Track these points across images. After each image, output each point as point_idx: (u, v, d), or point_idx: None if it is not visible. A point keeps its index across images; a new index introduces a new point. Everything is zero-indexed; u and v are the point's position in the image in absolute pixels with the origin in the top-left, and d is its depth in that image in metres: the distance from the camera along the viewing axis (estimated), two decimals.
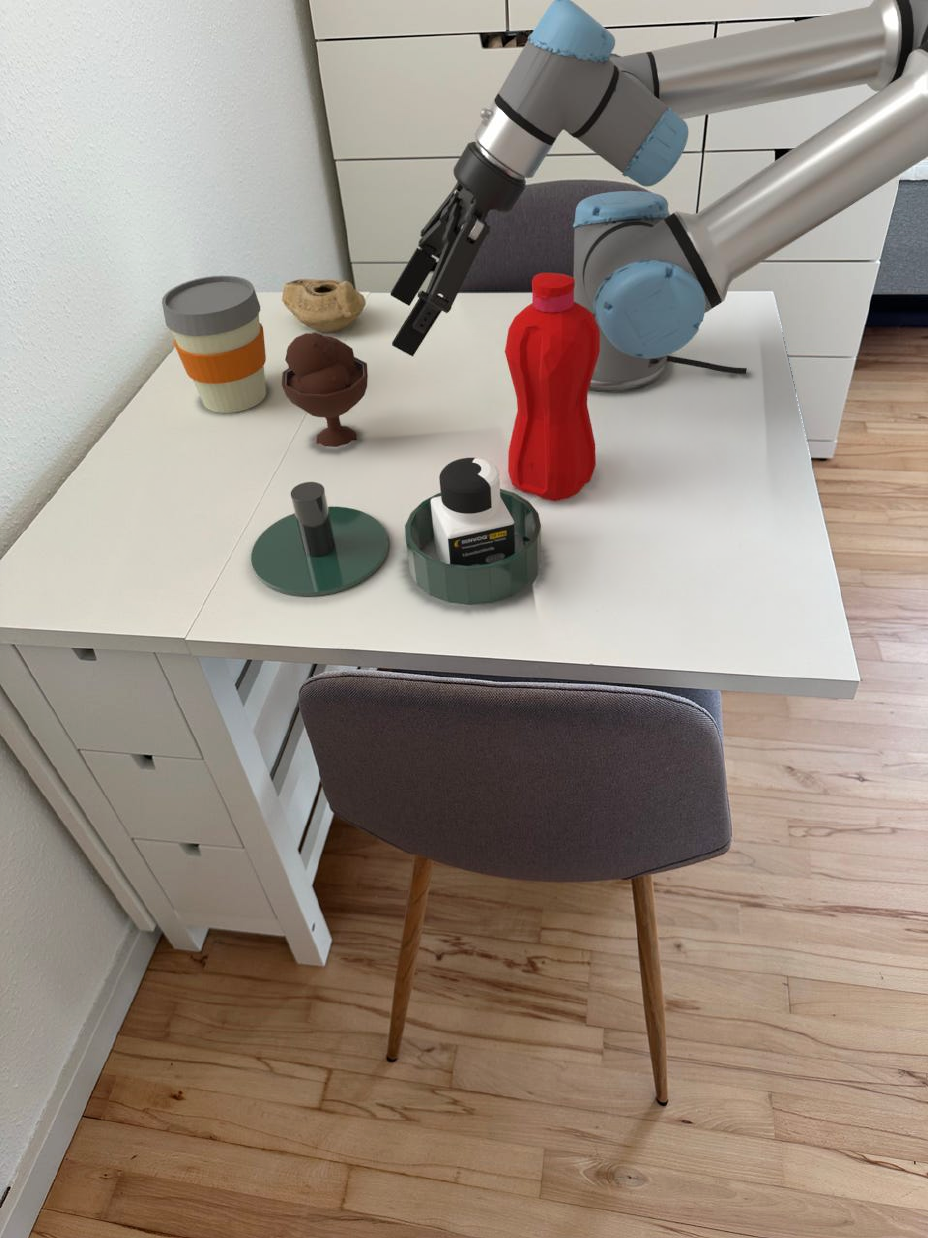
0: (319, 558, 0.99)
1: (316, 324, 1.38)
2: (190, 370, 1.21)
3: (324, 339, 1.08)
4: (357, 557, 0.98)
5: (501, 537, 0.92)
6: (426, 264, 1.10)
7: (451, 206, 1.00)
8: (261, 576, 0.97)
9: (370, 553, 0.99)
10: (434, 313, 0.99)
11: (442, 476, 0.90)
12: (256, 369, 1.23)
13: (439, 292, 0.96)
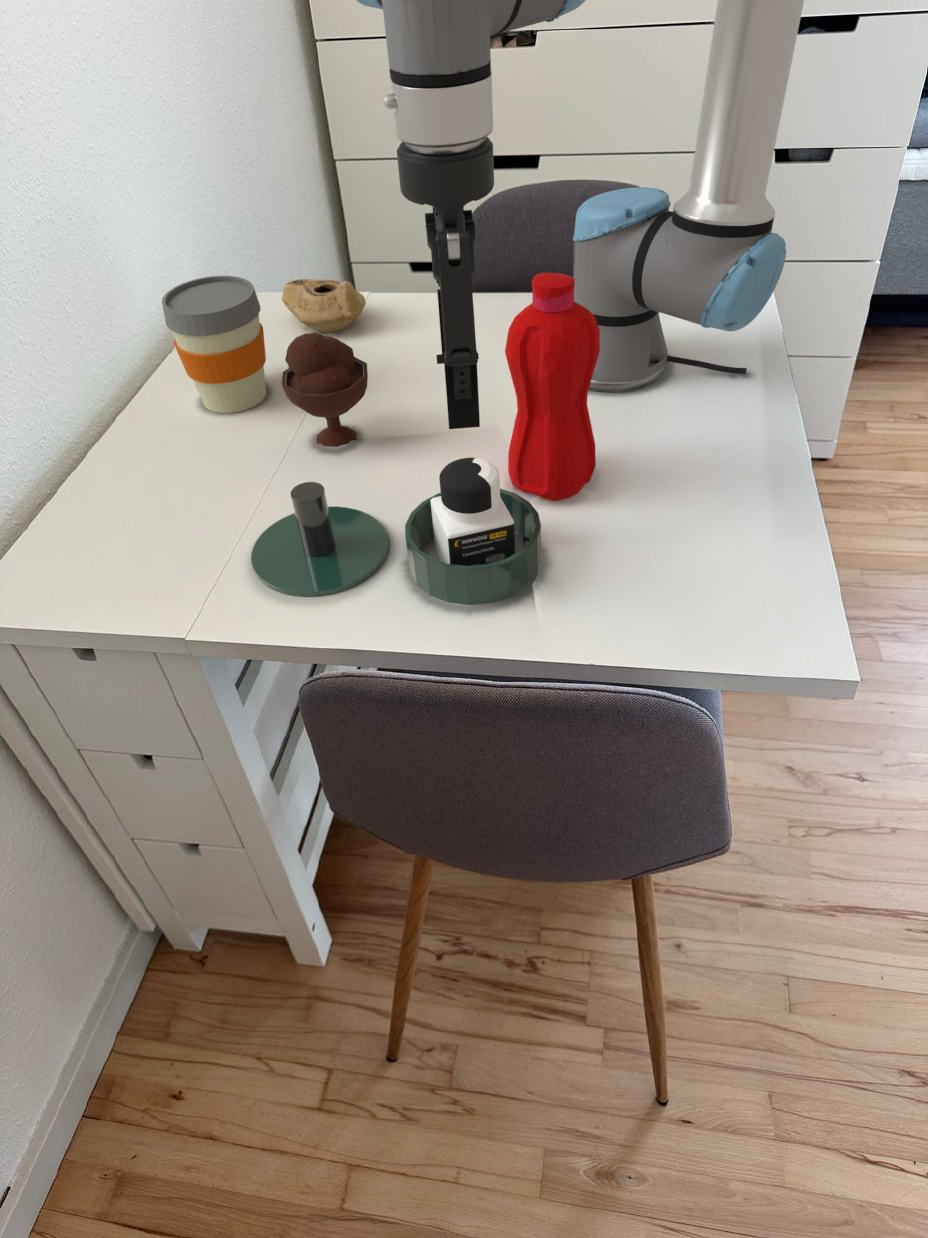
0: (319, 558, 0.99)
1: (316, 324, 1.38)
2: (190, 370, 1.21)
3: (324, 339, 1.08)
4: (357, 557, 0.98)
5: (501, 537, 0.92)
6: None
7: None
8: (261, 576, 0.97)
9: (370, 553, 0.99)
10: (467, 370, 0.74)
11: (442, 476, 0.90)
12: (256, 369, 1.23)
13: (452, 347, 0.71)
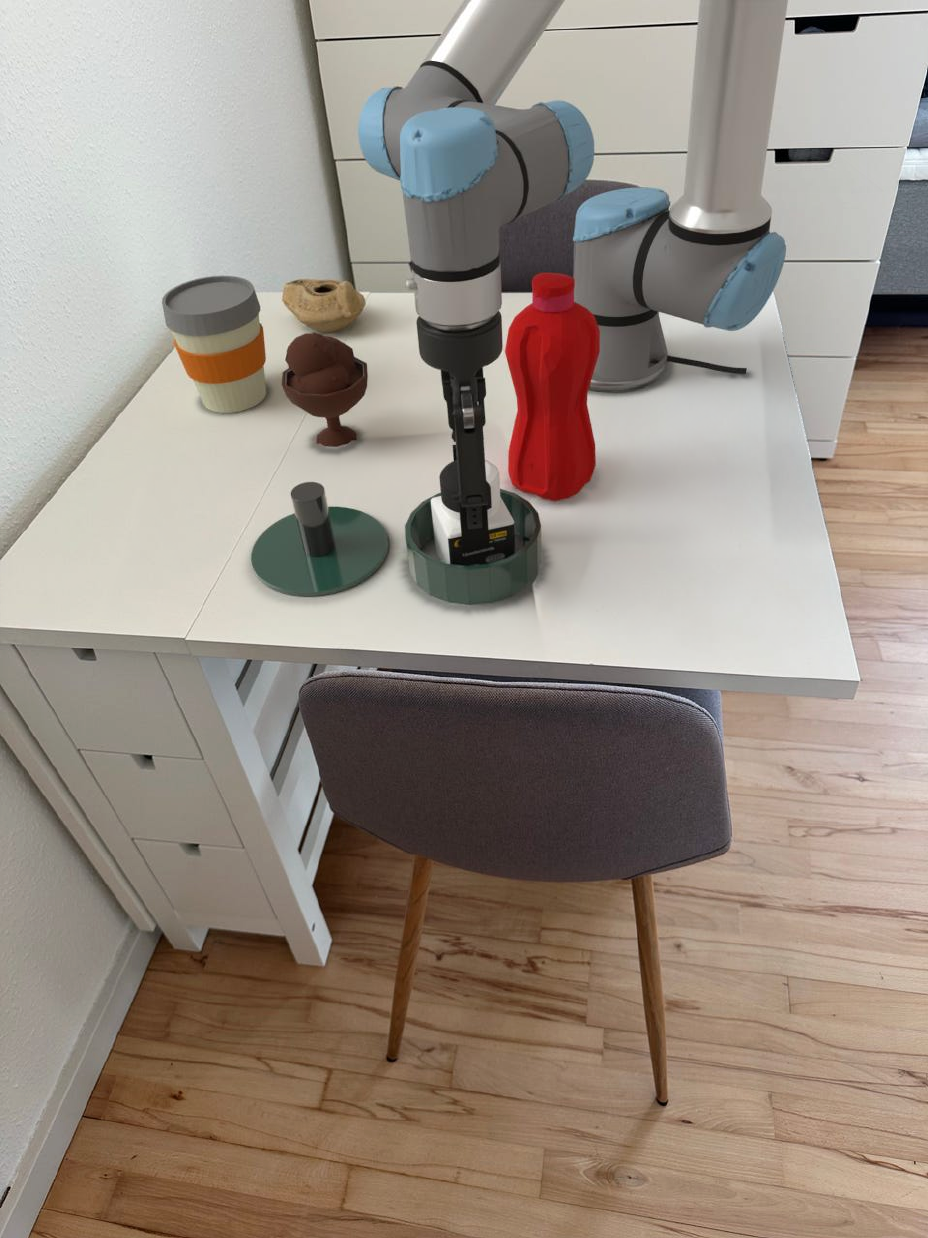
0: (319, 558, 0.99)
1: (316, 324, 1.38)
2: (190, 370, 1.21)
3: (324, 339, 1.08)
4: (357, 557, 0.98)
5: (501, 537, 0.92)
6: None
7: (444, 381, 0.84)
8: (261, 576, 0.97)
9: (370, 553, 0.99)
10: (479, 506, 0.86)
11: (442, 476, 0.90)
12: (256, 369, 1.23)
13: (467, 495, 0.83)
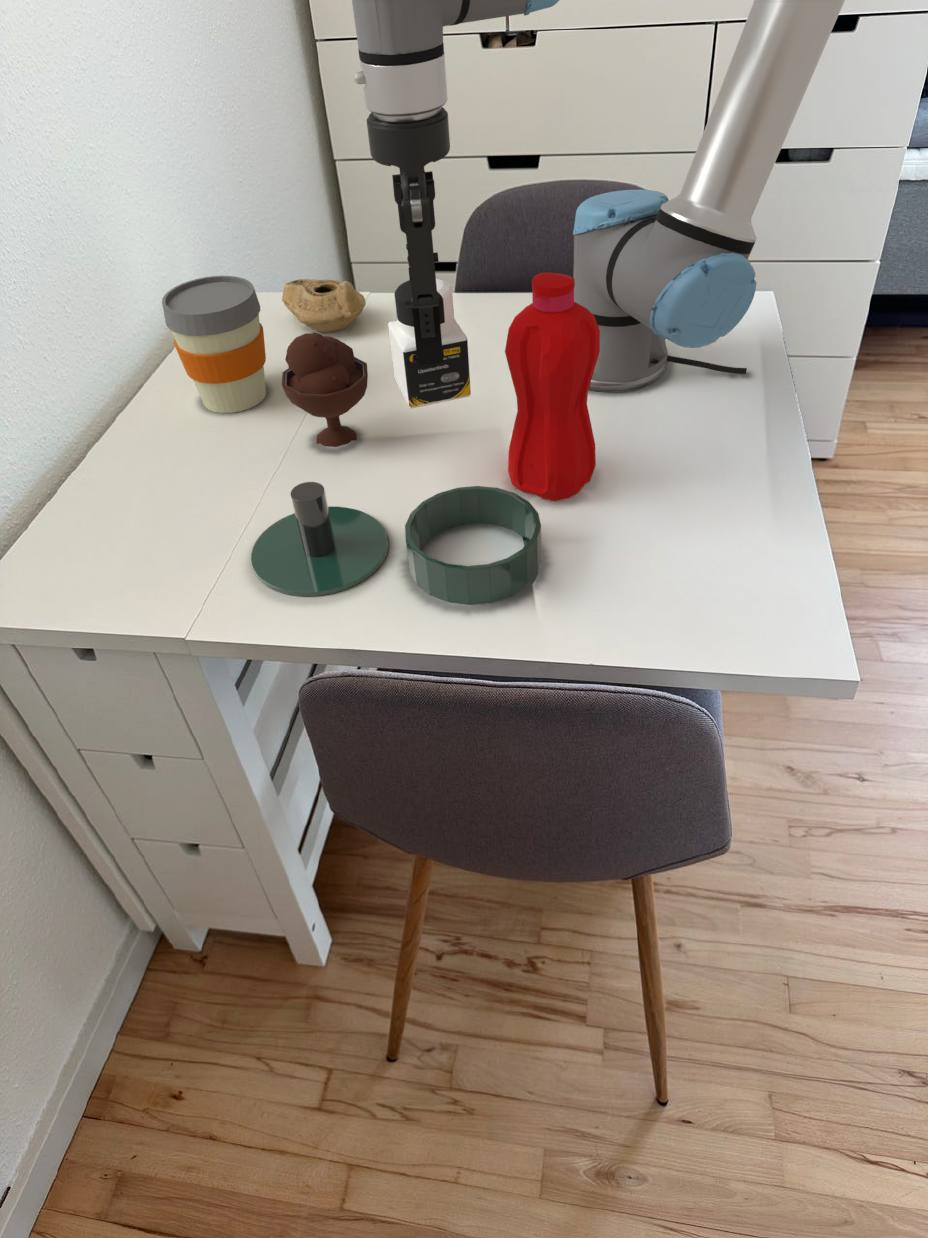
0: (319, 558, 0.99)
1: (316, 324, 1.38)
2: (190, 370, 1.21)
3: (324, 339, 1.08)
4: (357, 557, 0.98)
5: (455, 354, 0.96)
6: None
7: None
8: (261, 576, 0.97)
9: (370, 553, 0.99)
10: (431, 312, 0.90)
11: (397, 291, 0.94)
12: (256, 369, 1.23)
13: (418, 294, 0.87)
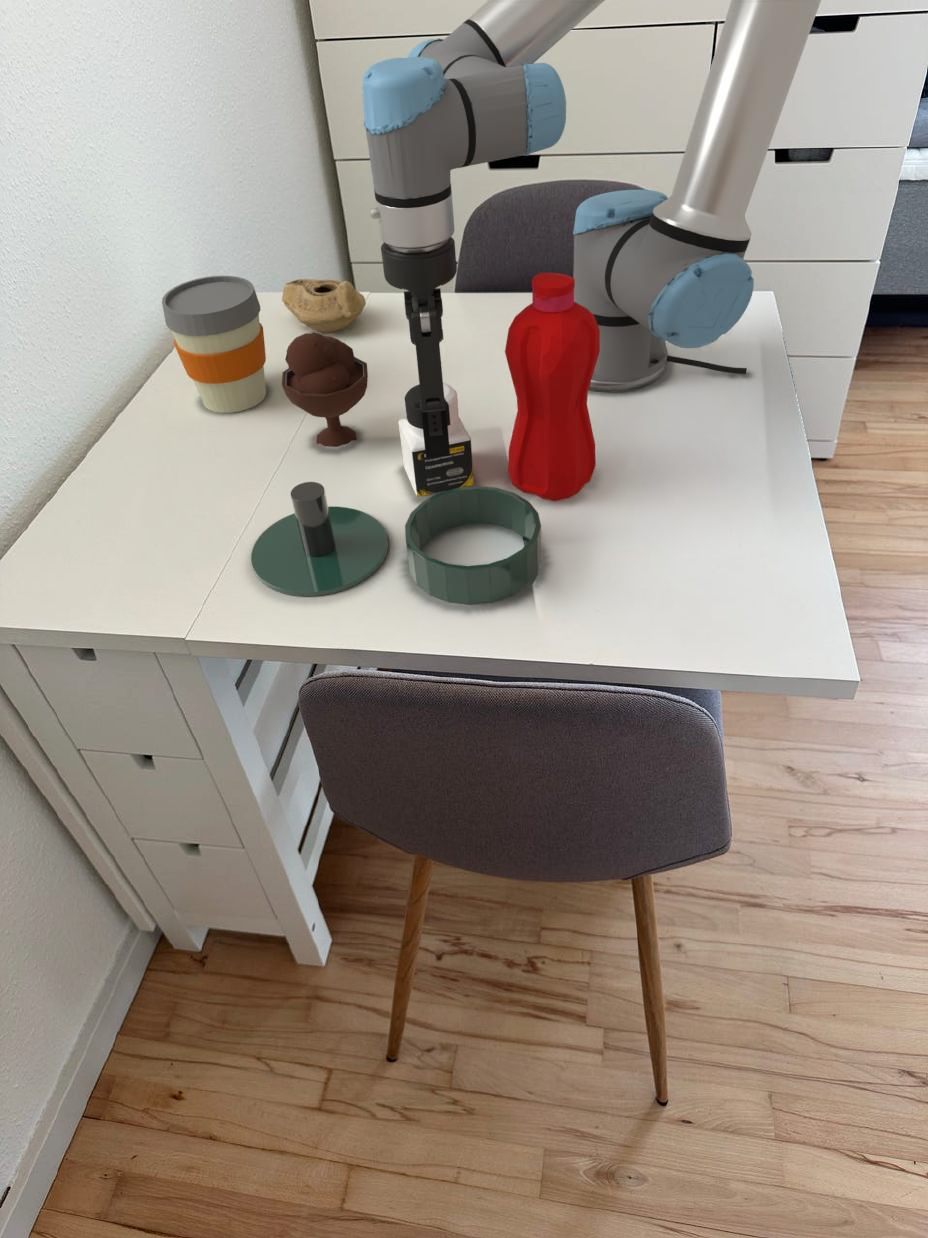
0: (319, 558, 0.99)
1: (316, 324, 1.38)
2: (190, 370, 1.21)
3: (324, 339, 1.08)
4: (357, 557, 0.98)
5: (459, 452, 1.05)
6: None
7: None
8: (261, 576, 0.97)
9: (370, 553, 0.99)
10: (438, 413, 0.95)
11: (407, 396, 1.03)
12: (256, 369, 1.23)
13: (426, 398, 0.92)
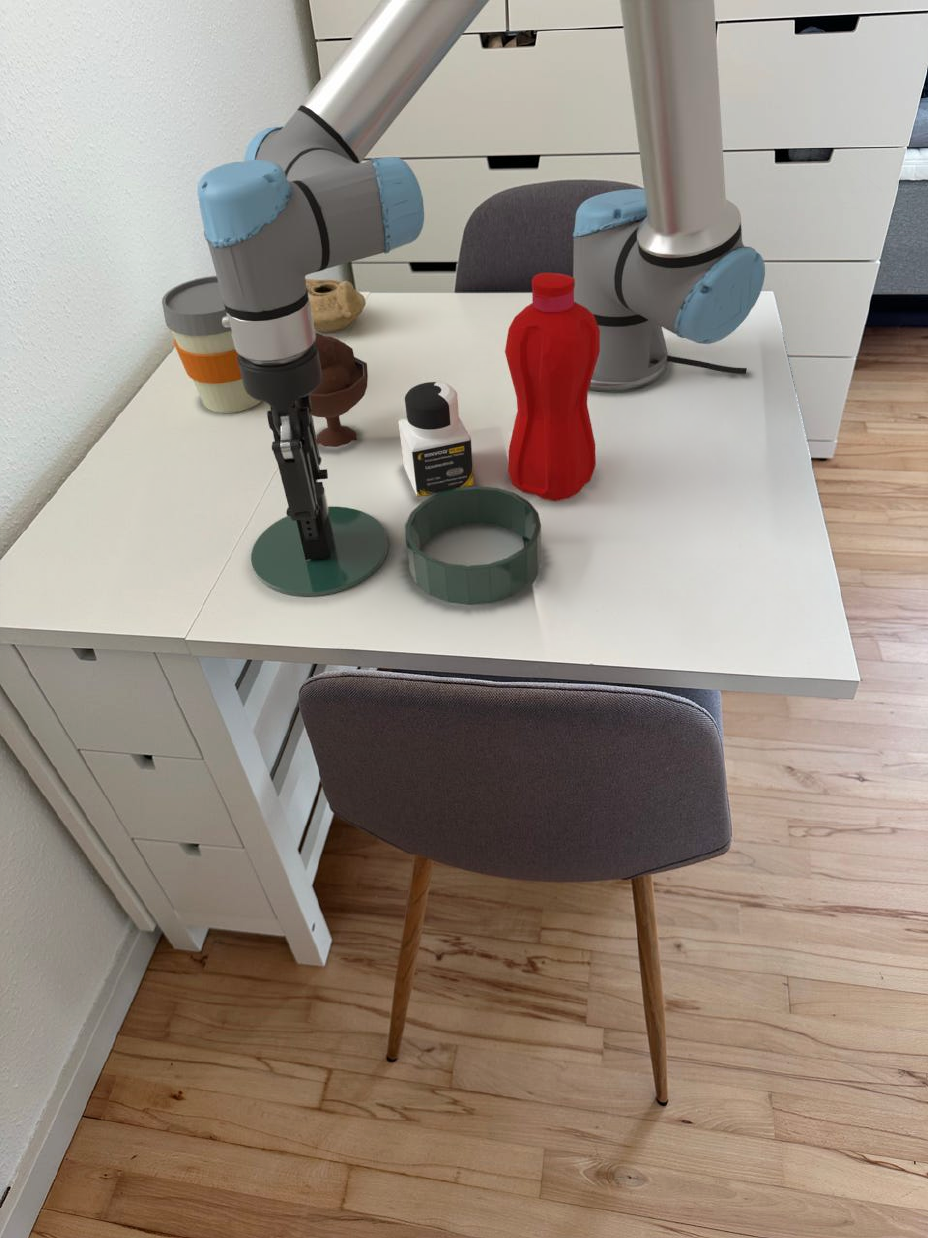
0: None
1: (316, 324, 1.38)
2: (190, 370, 1.21)
3: (324, 339, 1.08)
4: (357, 557, 0.98)
5: (460, 452, 1.05)
6: None
7: None
8: (261, 576, 0.97)
9: (370, 553, 0.99)
10: (312, 520, 0.93)
11: (407, 396, 1.03)
12: None
13: (295, 511, 0.90)
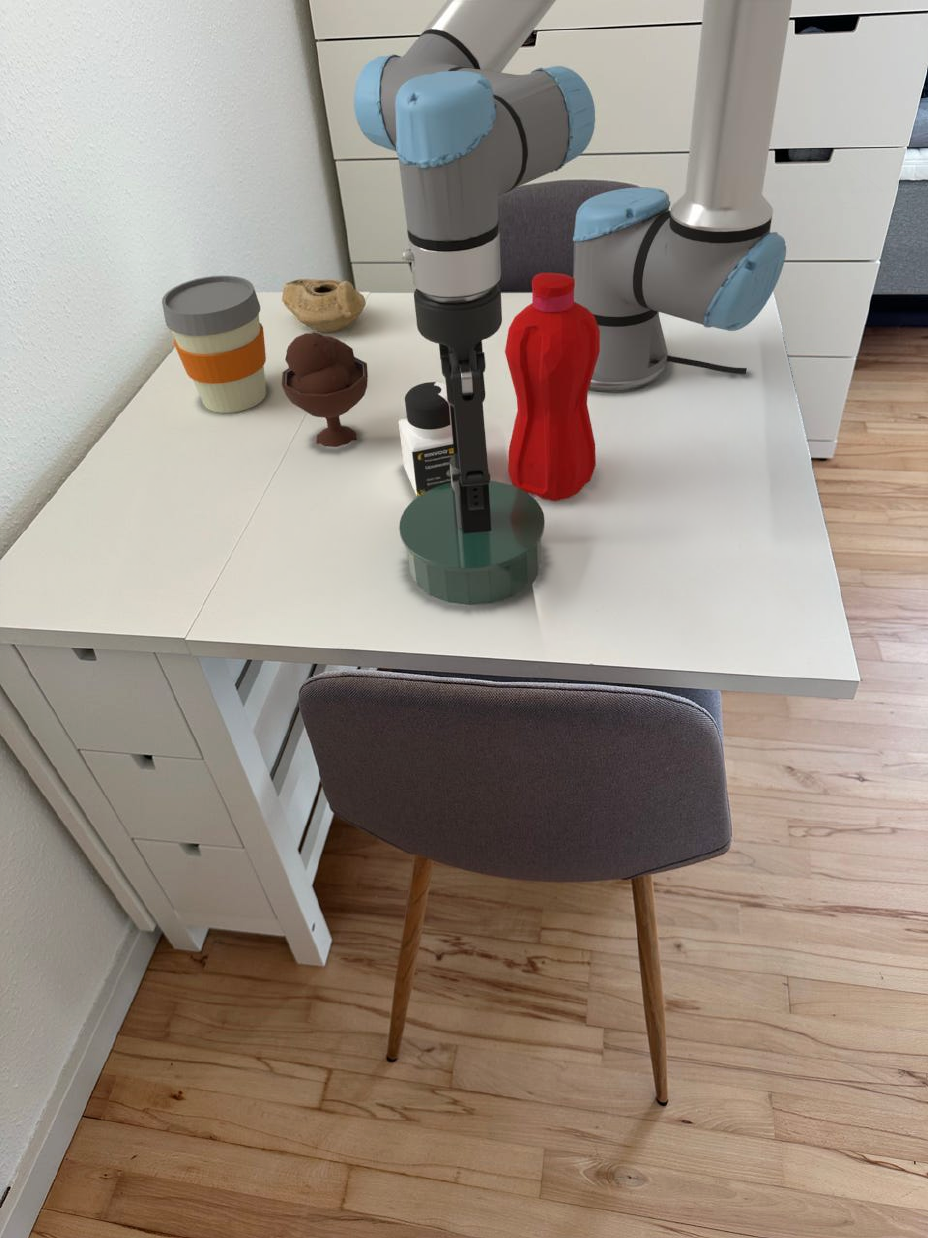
0: None
1: (316, 324, 1.38)
2: (190, 370, 1.21)
3: (324, 339, 1.08)
4: (515, 531, 0.93)
5: None
6: None
7: None
8: (415, 551, 0.91)
9: (528, 527, 0.93)
10: (480, 486, 0.81)
11: (407, 396, 1.03)
12: (256, 369, 1.23)
13: (467, 470, 0.79)
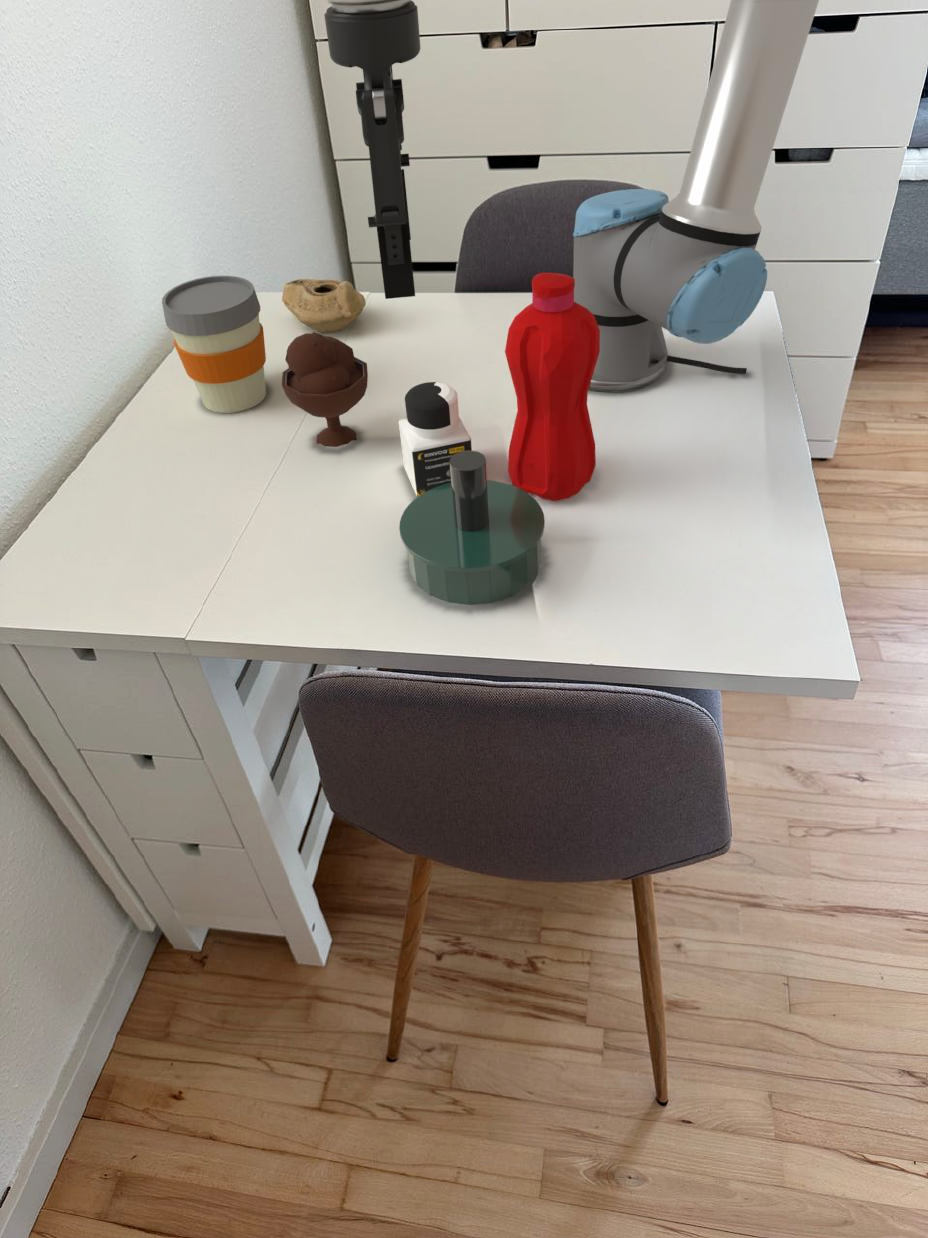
0: (473, 532, 0.93)
1: (316, 324, 1.38)
2: (190, 370, 1.21)
3: (324, 339, 1.08)
4: (515, 531, 0.93)
5: None
6: None
7: None
8: (415, 551, 0.91)
9: (528, 527, 0.93)
10: (398, 233, 0.76)
11: (407, 396, 1.03)
12: (256, 369, 1.23)
13: (381, 206, 0.74)
